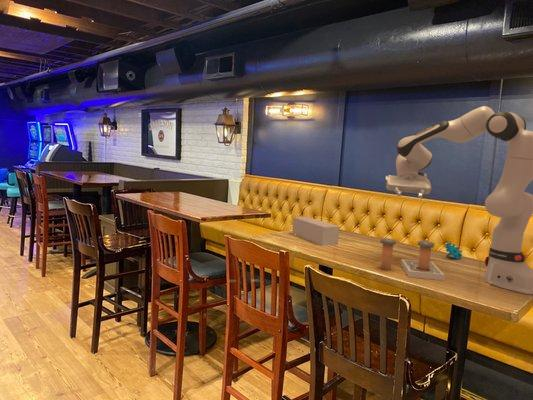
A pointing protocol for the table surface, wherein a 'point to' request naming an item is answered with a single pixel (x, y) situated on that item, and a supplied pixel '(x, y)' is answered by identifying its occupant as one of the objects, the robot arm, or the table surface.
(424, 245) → the grey capped peg
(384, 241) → the brown pin with head
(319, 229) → the grey rectangular brick
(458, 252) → the gear
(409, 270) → the housing
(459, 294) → the table surface
